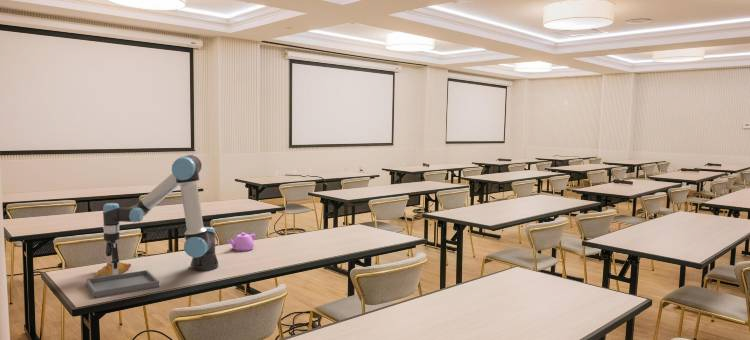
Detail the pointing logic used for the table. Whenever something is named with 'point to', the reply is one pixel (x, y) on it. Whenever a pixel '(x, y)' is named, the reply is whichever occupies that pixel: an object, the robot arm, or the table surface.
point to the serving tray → (121, 283)
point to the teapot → (243, 242)
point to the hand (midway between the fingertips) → (112, 271)
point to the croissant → (108, 269)
